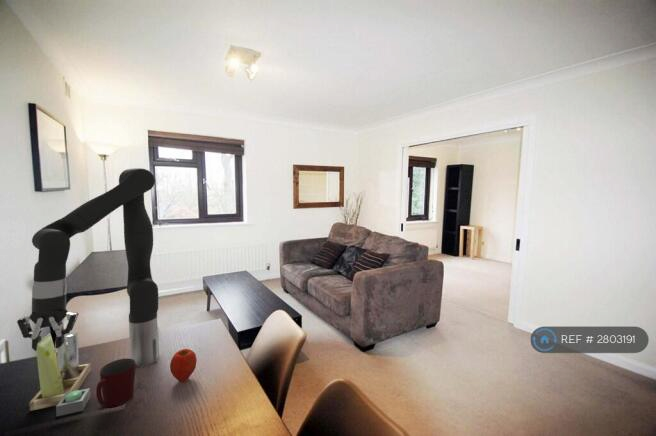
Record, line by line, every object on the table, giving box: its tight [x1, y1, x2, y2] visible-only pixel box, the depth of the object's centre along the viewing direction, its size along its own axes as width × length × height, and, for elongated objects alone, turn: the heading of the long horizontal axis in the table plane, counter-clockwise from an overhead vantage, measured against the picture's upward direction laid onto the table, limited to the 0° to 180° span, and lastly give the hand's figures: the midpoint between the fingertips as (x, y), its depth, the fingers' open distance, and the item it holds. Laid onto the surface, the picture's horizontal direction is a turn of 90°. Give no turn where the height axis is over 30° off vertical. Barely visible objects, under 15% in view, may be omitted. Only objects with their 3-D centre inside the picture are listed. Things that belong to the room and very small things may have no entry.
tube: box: [36, 333, 64, 398], centre depth 87 cm, size 6×5×20 cm
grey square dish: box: [55, 387, 91, 420], centre depth 84 cm, size 6×6×4 cm
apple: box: [169, 348, 197, 383], centre depth 98 cm, size 9×8×11 cm
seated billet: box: [56, 331, 80, 380], centre depth 95 cm, size 5×5×16 cm
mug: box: [95, 357, 136, 409], centre depth 87 cm, size 12×9×11 cm
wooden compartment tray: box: [29, 362, 92, 412], centre depth 92 cm, size 9×18×4 cm, turn 24°
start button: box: [66, 389, 82, 403], centre depth 84 cm, size 4×4×3 cm
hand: (48, 348), depth 86 cm, fingers open, 4 cm apart
